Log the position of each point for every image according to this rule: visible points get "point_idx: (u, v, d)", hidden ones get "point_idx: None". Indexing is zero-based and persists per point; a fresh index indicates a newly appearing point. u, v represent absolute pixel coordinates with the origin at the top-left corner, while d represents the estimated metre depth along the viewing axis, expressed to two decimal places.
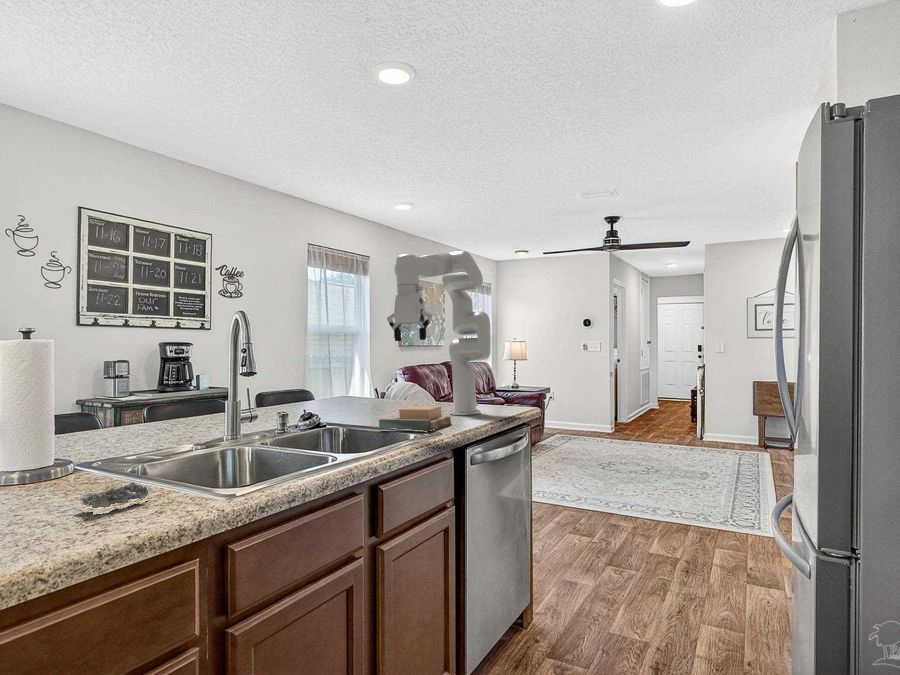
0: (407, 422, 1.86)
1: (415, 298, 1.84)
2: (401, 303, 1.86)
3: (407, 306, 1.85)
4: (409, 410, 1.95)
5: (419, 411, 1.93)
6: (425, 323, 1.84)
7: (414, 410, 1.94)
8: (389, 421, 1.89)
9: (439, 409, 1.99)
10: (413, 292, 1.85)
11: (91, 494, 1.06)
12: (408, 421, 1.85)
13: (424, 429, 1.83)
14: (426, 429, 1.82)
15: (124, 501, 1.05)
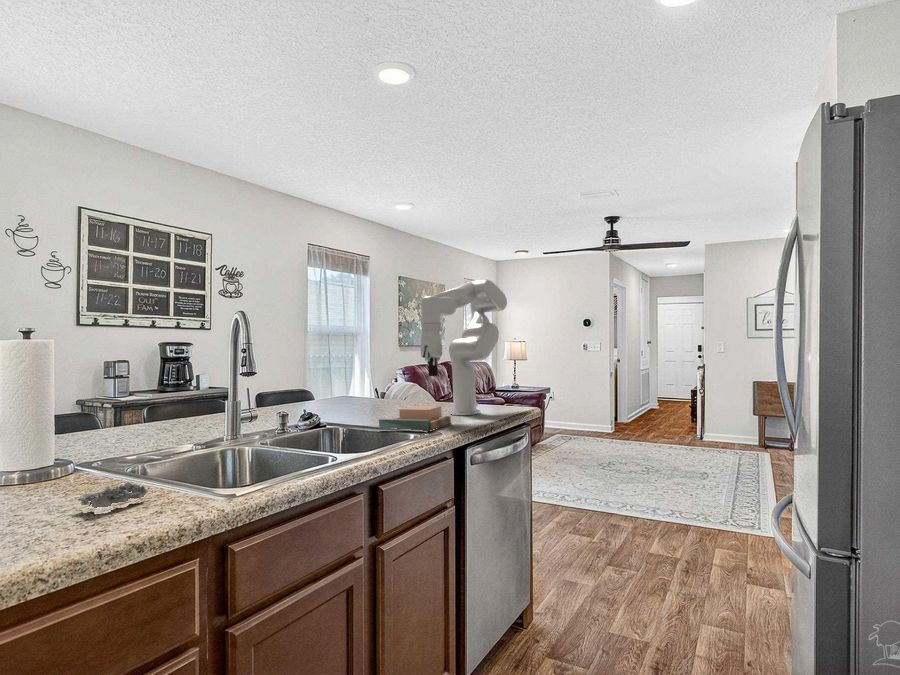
0: (407, 422, 1.86)
1: None
2: (436, 339, 2.07)
3: (438, 342, 2.09)
4: (409, 410, 1.95)
5: (419, 411, 1.93)
6: None
7: (414, 410, 1.94)
8: (389, 421, 1.89)
9: (439, 409, 1.99)
10: None
11: (88, 494, 1.06)
12: (408, 421, 1.85)
13: (424, 429, 1.83)
14: (426, 429, 1.82)
15: (124, 500, 1.05)
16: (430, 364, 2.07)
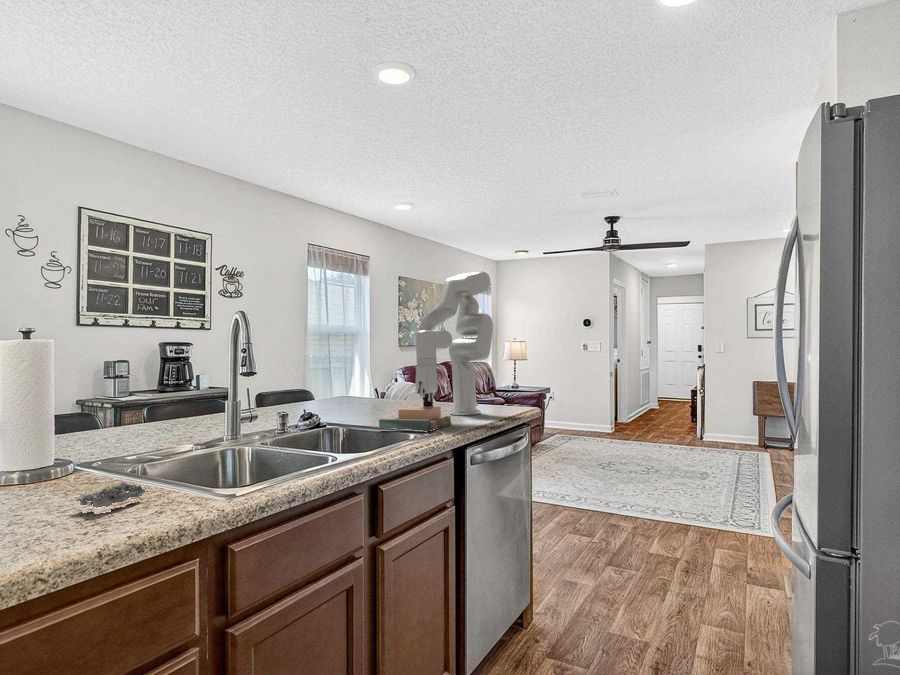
0: (407, 422, 1.86)
1: None
2: (431, 374, 2.02)
3: (434, 377, 2.04)
4: (408, 410, 1.94)
5: (418, 411, 1.92)
6: None
7: (413, 410, 1.93)
8: (389, 421, 1.89)
9: (438, 409, 1.98)
10: None
11: (85, 494, 1.06)
12: (408, 421, 1.85)
13: (424, 429, 1.83)
14: (426, 429, 1.82)
15: (124, 500, 1.06)
16: (425, 400, 2.02)
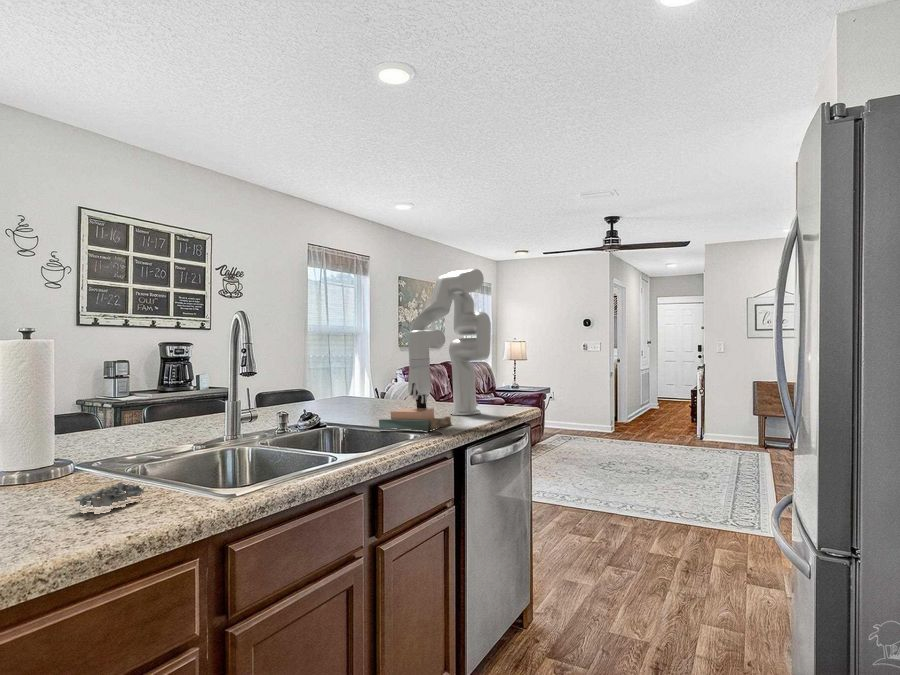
0: (407, 422, 1.86)
1: (429, 371, 2.02)
2: (424, 375, 1.97)
3: (427, 378, 1.99)
4: (401, 412, 1.89)
5: (411, 413, 1.87)
6: None
7: (406, 412, 1.88)
8: (389, 421, 1.89)
9: (432, 411, 1.93)
10: None
11: (83, 495, 1.06)
12: (408, 421, 1.85)
13: (424, 429, 1.83)
14: (426, 429, 1.82)
15: (124, 499, 1.06)
16: (418, 402, 1.97)
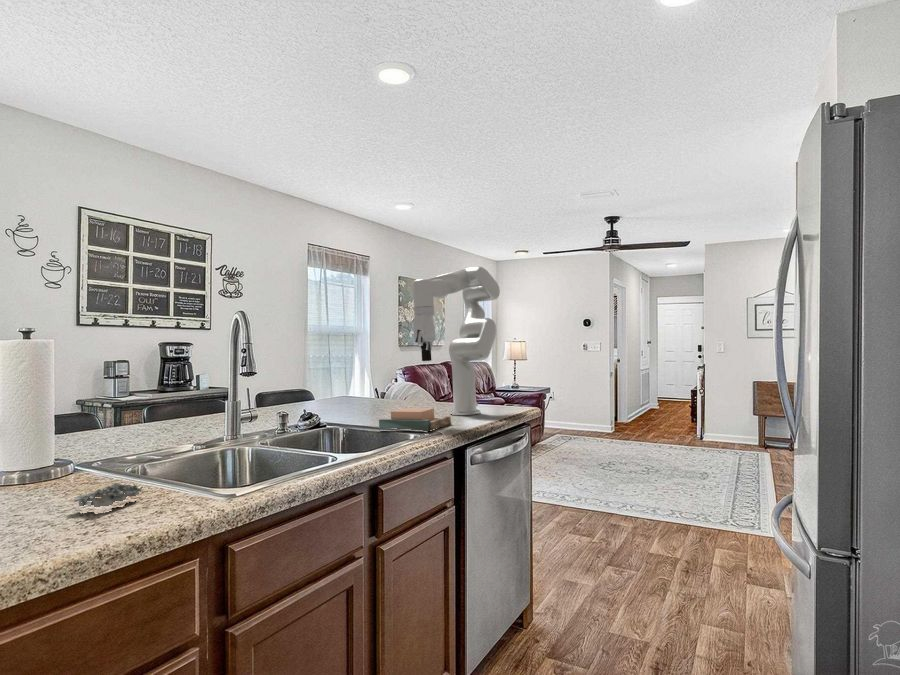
0: (407, 422, 1.86)
1: (433, 319, 2.07)
2: (429, 323, 2.02)
3: (431, 326, 2.04)
4: (401, 412, 1.89)
5: (411, 413, 1.87)
6: None
7: (406, 412, 1.88)
8: (389, 421, 1.89)
9: (432, 411, 1.93)
10: None
11: (81, 495, 1.05)
12: (408, 421, 1.85)
13: (424, 429, 1.83)
14: (426, 429, 1.82)
15: (123, 499, 1.07)
16: (423, 349, 2.03)
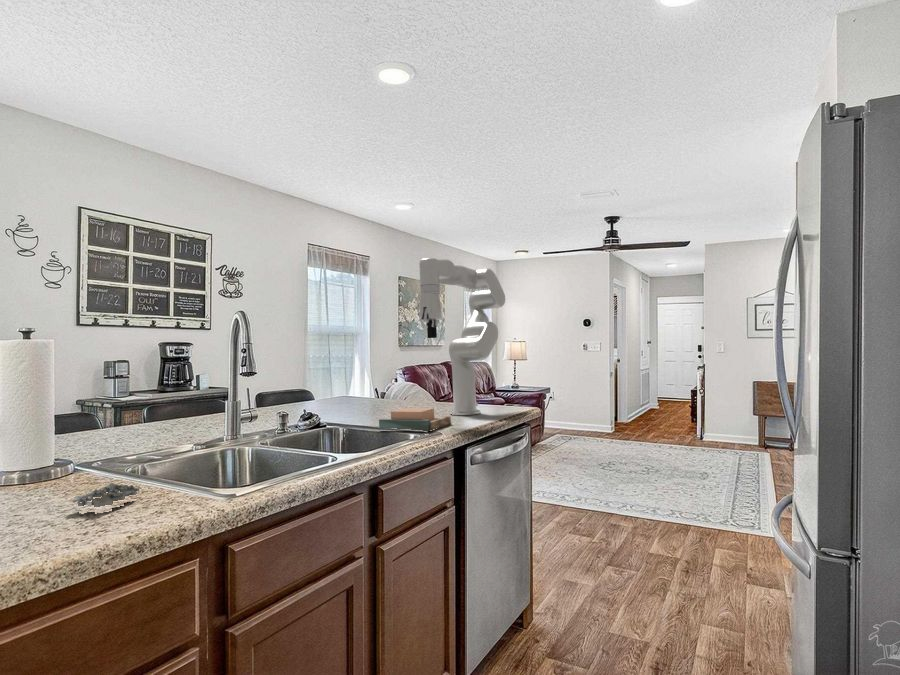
0: (407, 422, 1.86)
1: (439, 298, 2.12)
2: (434, 301, 2.08)
3: (437, 304, 2.09)
4: (401, 412, 1.89)
5: (411, 413, 1.87)
6: None
7: (406, 412, 1.88)
8: (389, 421, 1.89)
9: (432, 411, 1.93)
10: None
11: (79, 496, 1.05)
12: (408, 421, 1.85)
13: (424, 429, 1.83)
14: (426, 429, 1.82)
15: (123, 499, 1.07)
16: (429, 326, 2.08)
